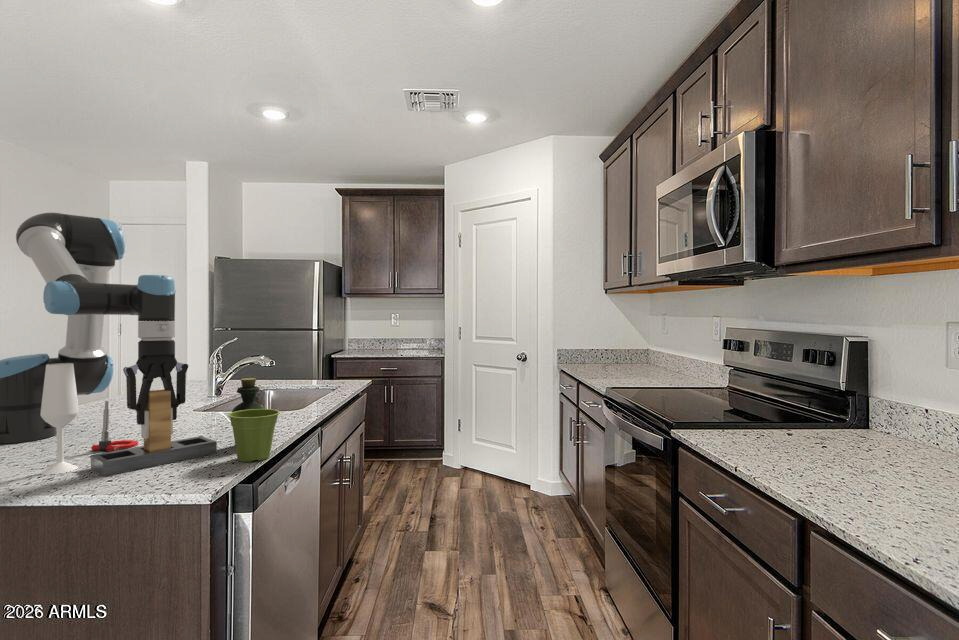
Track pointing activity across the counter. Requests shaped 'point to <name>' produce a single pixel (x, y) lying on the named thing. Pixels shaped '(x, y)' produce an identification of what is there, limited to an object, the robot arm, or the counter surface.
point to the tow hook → (105, 442)
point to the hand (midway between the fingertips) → (157, 435)
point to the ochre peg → (159, 420)
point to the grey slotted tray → (151, 456)
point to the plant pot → (253, 432)
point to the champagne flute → (59, 408)
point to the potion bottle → (248, 395)
